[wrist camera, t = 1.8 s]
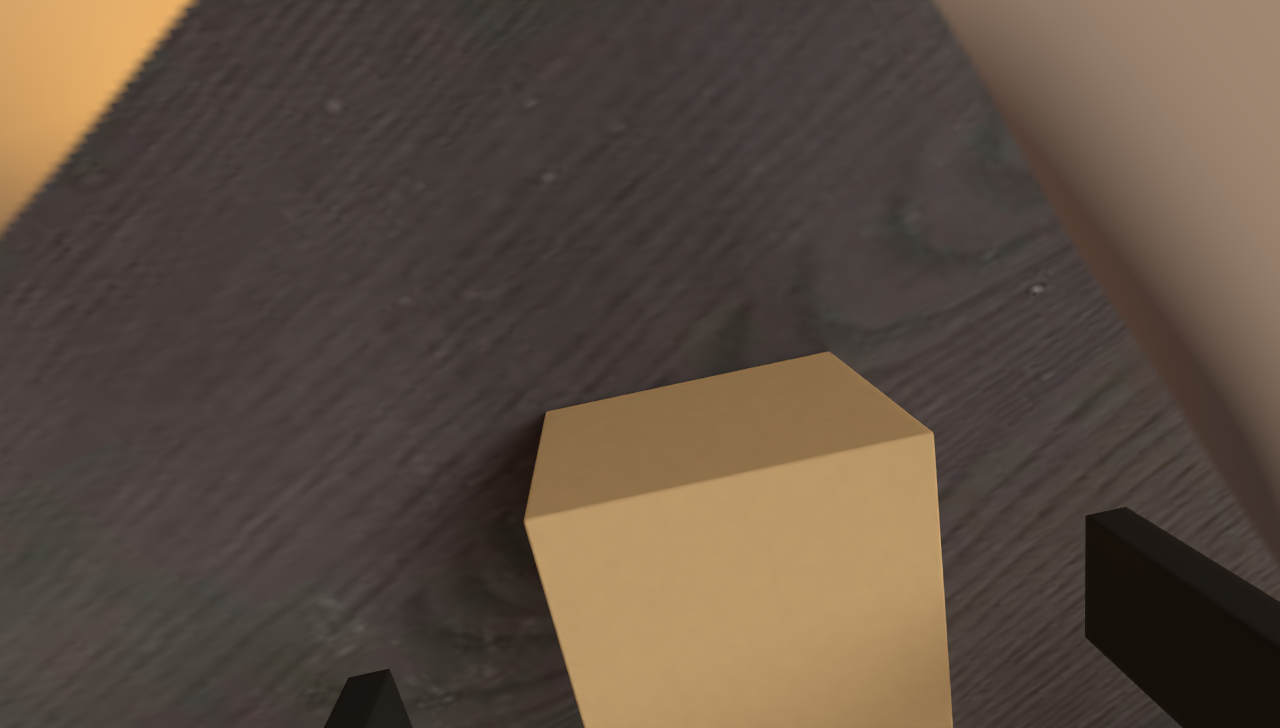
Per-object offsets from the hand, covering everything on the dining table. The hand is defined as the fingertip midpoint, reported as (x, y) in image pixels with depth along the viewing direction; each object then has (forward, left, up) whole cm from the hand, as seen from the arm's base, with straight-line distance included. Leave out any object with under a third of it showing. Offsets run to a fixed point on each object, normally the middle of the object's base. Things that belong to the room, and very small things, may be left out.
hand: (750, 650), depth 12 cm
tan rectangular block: (0, 0, -5) cm, 5 cm away
